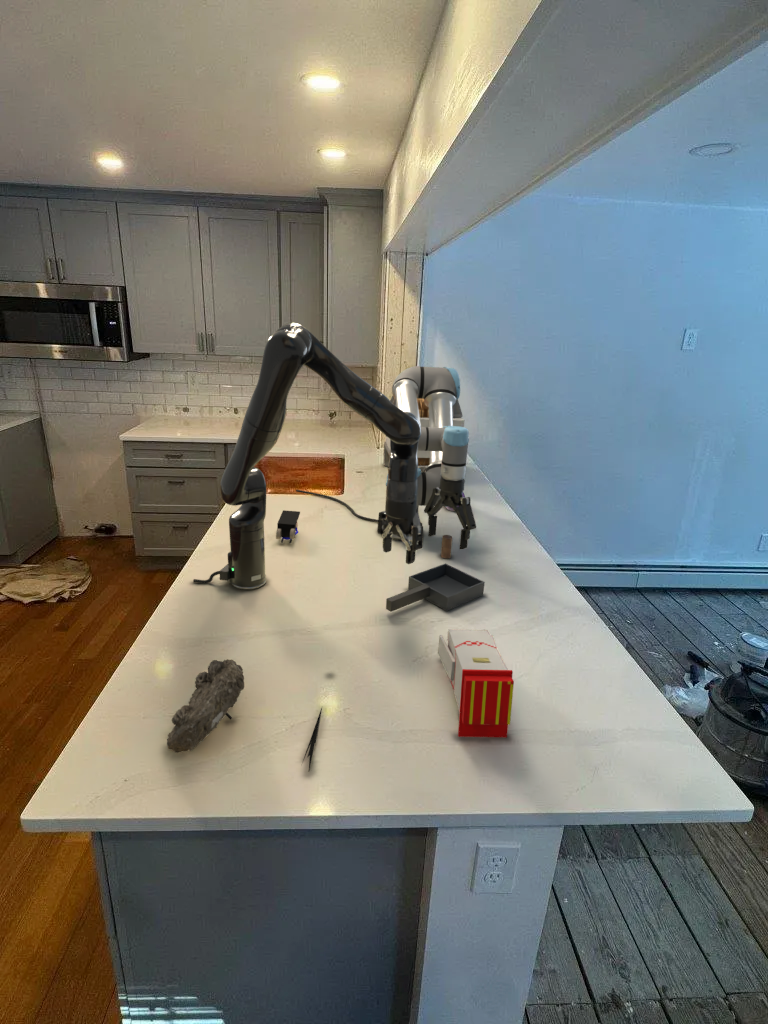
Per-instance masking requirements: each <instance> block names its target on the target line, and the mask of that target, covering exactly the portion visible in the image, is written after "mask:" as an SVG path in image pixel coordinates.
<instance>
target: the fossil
mask: <svg viewBox="0 0 768 1024" xmlns="http://www.w3.org/2000/svg"><path fill="white" fill-rule="evenodd" d="M243 670H244V669H243V667H242V665H240V664H237V662H236V661H235V660H234V659H232V658H231V659H227V658H226V659H224V660H223V661H222V660H217V659H212V660H211V661H210V663H209V665H208V666H207V671H201V672H199V673H198V674H197V675H196V676H195V680H194V684H195V685H194V687H195V689H194V690H193V693H192V694H191V697H190V698H189V700H188V704H184V705H182V706H181V707H180V709H177V710H176V711H175V713H174V715H173V716H172V718H171V723H172V724H173V727H172V730H171V731H170V732H168V734H167V738H166V741H167V742H166V745H167V749H168V750H169V751H173V752H174V753H176V754H178V753H182V752H188V751H189V752H192V751H193V750H195V748H196V747H197V746H199V744H200V743H201V742H203V741H204V740H205V739H206V738H207V737H208V736H209V735H210V734H211V733H212V732H214V730H215V729H217V727H218V726H219V724H220V722H221V721H222V720H223V719H224V718H225V716H226V717H227V719H229V720H233V717H232V715H230V714H229V710H230V709H231V708H234V706H235V704H236V703H237V702H238V699H239V697H240V695H241V693H242V691H243V690H245V689H244V688H245V675H244V671H243Z"/></svg>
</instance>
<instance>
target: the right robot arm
mask: <svg viewBox="0 0 768 1024" xmlns="http://www.w3.org/2000/svg"><path fill="white" fill-rule="evenodd" d="M391 394H392V396H393V397H394V399H395V400H396V407H398V408H399V409H400V410H402V411H403V412H410V413H412V414H414V415H415V416H416V417H417V419H418V421H419V423H420V416H419V409H418V402H417V398H421V399H424V403H425V405H426V406H427V407H429V427H421V423H420V427H421V435H420V438H419V440H418V449H417V451H430V465H428V466H425V471H422V469H421V468H420V467H418V475H417V485H418V492H417V507H416V515H415V516H414V518H413V522H414V525H417V526H420V525H422V526H423V523H422V522H421V518H420V515H419V507H420V506H421V507H424V509H423V513H425V514H426V515H427V518H428V519H427V526H428V534H427V535H428V537H433V536H436V535H437V525H438V515H437V513H438V512H439V511H440V510H441V509H442V508H444V507H445V508H446V507H447V506H449V507H450V508H453V510H454V511H453V512H455V513H456V516H457V519H458V520H459V522H460V525H461V527H462V528H461V530H460V538H459V539H460V540H459V550H460V551H461V550H465V549H467V548H468V541H469V540H470V538H471V531H472V530H476V529H477V524H476V520H475V516H474V513H473V508H472V504H471V501H472V500H471V497H470V496H467V497H466V496H465V497H463V496H462V493H464V490H465V482H466V481H465V478H466V474H467V473H466V472H467V471H466V470H467V459H468V449H469V442H470V438H469V435H470V432H469V431H470V430H469V429H468V428H467V427H465V426H464V427H459V426H453V420H452V406H453V405H454V404H455V402H456V400H457V399H458V400H459V398H460V396H461V379H460V374H459V372H458V370H457V369H456V368H454V367H447V366H442V367H439V366H419V365H415V366H411V367H408V368H406V369H404V370H402V371H401V372H400V373H398V375H397V376H396V377H395V379H394V380H393V383H392V385H391ZM387 482H388V474H387V475H386V482H385V487H386V488H385V489H387ZM295 492H296V493H301V494H307V495H312V496H317V497H322V498H326V499H329V500H332V501H336V502H338V503H340V504H342V505H343V506H345V507H346V508H347V509H348V510H349V511H350V512H351V513H352V514H353V515H354V516H355V517H357V518H358V519H362V520H365V521H370V522H375V523H378V519H376V518H370V517H366V516H362V515H360V514H357V513H356V512H355V510H354V509H353V508H352V506H350V505H348V504H347V503H346V502H344V501H343V500H341V499H338V498H336V497H333V496H330V495H326V494H322V493H317V492H312V491H307V490H301V489H295ZM461 501H462V502H461ZM384 505H385V507H384V508H385V509H384V511H386V504H384ZM458 505H459V507H457V506H458ZM382 528H383V526H382ZM391 537H392V540H395V541H402V539H401V537H399V536H397V535H394V534H393V535H392V536H391ZM406 537H407V538H408V537H410V535H408V536H406Z"/></svg>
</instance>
